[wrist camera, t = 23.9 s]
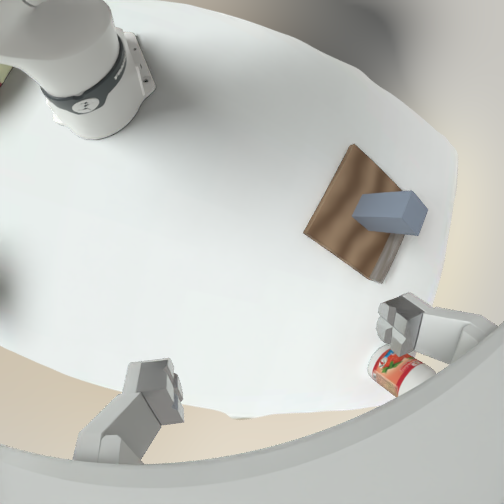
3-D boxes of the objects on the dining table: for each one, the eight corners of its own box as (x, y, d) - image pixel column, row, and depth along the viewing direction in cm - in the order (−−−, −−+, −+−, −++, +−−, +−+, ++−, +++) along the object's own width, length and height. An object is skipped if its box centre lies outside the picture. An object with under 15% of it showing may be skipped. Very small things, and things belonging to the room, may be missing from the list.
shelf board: (302, 233, 47) (315, 234, 43) (349, 145, 47) (363, 140, 43) (368, 279, 52) (382, 284, 48) (405, 199, 53) (419, 199, 48)
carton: (351, 216, 47) (401, 217, 35) (362, 194, 48) (412, 190, 35) (369, 231, 49) (419, 236, 37) (379, 210, 49) (428, 210, 37)
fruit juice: (362, 381, 56) (441, 444, 29) (371, 346, 55) (463, 404, 28) (389, 373, 59) (465, 425, 32) (398, 341, 58) (484, 387, 31)
